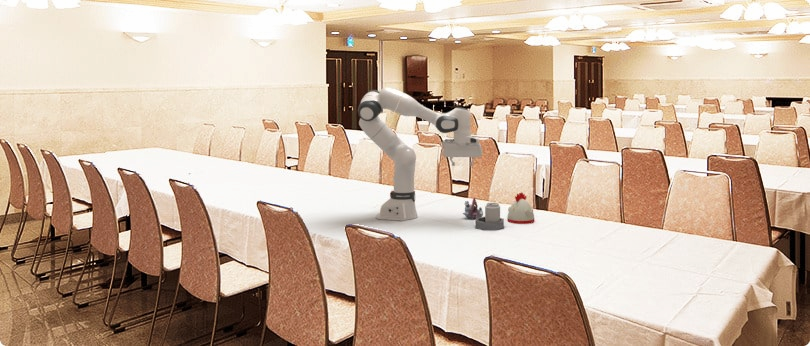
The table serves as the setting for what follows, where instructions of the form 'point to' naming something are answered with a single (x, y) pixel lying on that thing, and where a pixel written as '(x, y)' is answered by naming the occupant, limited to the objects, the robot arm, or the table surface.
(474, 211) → the brake caliper
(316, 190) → the table surface
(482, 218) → the steel ring
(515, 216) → the kitchen timer
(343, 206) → the table surface
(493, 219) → the can
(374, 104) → the robot arm
